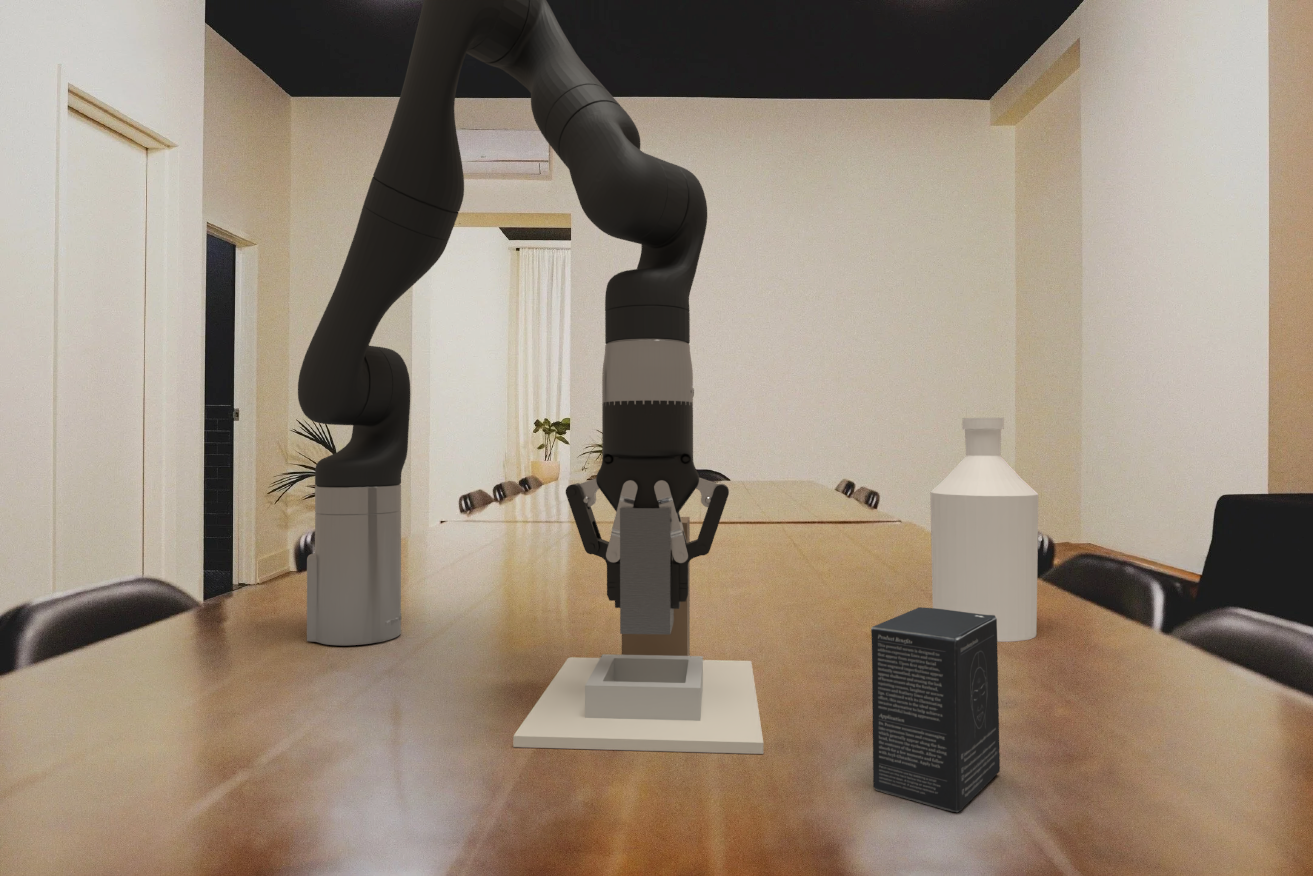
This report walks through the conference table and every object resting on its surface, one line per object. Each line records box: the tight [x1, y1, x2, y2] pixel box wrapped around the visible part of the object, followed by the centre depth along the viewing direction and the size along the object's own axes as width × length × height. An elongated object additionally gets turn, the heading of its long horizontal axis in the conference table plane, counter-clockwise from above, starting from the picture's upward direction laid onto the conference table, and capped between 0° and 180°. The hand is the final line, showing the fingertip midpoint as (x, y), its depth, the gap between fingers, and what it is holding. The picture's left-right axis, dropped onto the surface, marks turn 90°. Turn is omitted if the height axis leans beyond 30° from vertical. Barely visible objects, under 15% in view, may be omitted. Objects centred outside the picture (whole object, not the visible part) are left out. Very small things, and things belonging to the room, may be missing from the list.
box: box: [870, 607, 1001, 813], centre depth 53 cm, size 8×6×11 cm
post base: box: [512, 516, 764, 755], centre depth 70 cm, size 18×22×15 cm
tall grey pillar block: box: [619, 507, 674, 635], centre depth 68 cm, size 4×5×10 cm
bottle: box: [929, 417, 1039, 643], centre depth 97 cm, size 12×12×25 cm
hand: (648, 605), depth 68 cm, fingers closed on tall grey pillar block, 4 cm apart
